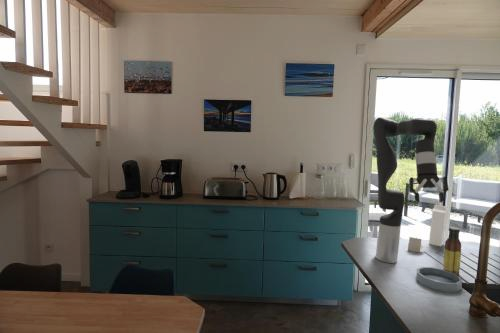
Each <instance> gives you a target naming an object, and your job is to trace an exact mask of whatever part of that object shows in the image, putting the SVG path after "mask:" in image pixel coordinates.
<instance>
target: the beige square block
mask: <svg viewBox="0 0 500 333" xmlns="http://www.w3.org/2000/svg"><path fill="white" fill-rule="evenodd" d="M424 246H425V245H424V244H422V238H418V237H412V236H409V238H408V245H407V251H412V252H415V253H416V252H417V253H421V248H424Z"/></svg>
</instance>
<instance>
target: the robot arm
mask: <svg viewBox="0 0 500 333" xmlns="http://www.w3.org/2000/svg"><path fill="white" fill-rule="evenodd" d="M437 127H438V126H437V122H435V120H433V119H426V118H425V119H424V118H411V119H405V120H401V121H395V120H393V119H389V118H386V117H377V118H376V119H375V120H374V123H373V128H372V129H373V135H374V142H375V152H376V167H377V168H376V169H377V181H378V182H377V183H378V185H377V188H378V189H377V202H378V207H379V208H380V209H381V210H390V211H391V212H390V213H388V214H384V215H381V216H380V217H379V224H378V233H377V234H378V236H377V239H376V240H377V241H376V248H375V249H376V251H375V257H376V260H378V261H379V262H382V263H386V264H387V263H388V264H396V263H397V262H398V257H399V256H398V255H399V246H400V235H401V226H402V219H403V213H404V208H405V193H404V191H402V190H400V189H399V190H398V189H387V183H388V182H389V181H390V179H391V177H392V176H393V175H394V174H395V172H396V171H397V168H398V159H397V153H396V152H395V150H394V148H393V147H392V145H391V143H390V142H389V141H388V140H387V139H388V138H393V137H397V136H402V135H403V136H413V135H415V136H423V139H418V140H417V141H415V145H414V147H415V164H416V177H410V178H409V179H408V184H409V185H408V186H409V187H408V192H409V193H413V194H414V200H415V202H416V203H420V193H419V192H420V190H421V189H434V190H436V191H437V193H438V200H439V203H443V202H444V201H445V194H444V193H446V192H448V191H449V185H448V178H447V177H446V176H443V177H439V176H438V167H437V158H436V153H435V139H436V134H437V131H438V128H437ZM439 182H440V183H442V187H441V186H440V185H439ZM415 183H418V186H417V187H416V189H414V184H415Z"/></svg>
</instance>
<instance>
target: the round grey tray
mask: <svg viewBox="0 0 500 333" xmlns="http://www.w3.org/2000/svg"><path fill="white" fill-rule="evenodd" d="M443 269H444V268H437V267H431V266H427V267H426V266H421V267H419V268H417V269H416V275H415V277H416V281H417V282H418V283H419V284H421V285H422V286H425V287H427V288H430V289H432V290H435V291H440V292H446V293H456V292H459V291H460V290H462V289H463V288H462V287H463V280H462V278H461V277H460V276H459V275H456V274H454V273H452V272H449V271H446V270H443Z"/></svg>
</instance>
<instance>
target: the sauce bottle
mask: <svg viewBox="0 0 500 333" xmlns="http://www.w3.org/2000/svg"><path fill="white" fill-rule="evenodd" d="M460 230H461V229H460V228H459V227H455V226H454V227H453V226H451V227H450V226H449V227H448V238H447V239H446V240H445V241H444V249H443V250H444V252H443V265H442V269H443V270H446V271H449V272H452V273H454V274H456V275H457V276H459V274H460V270H461V258H462V257H461V256H462V242H461V240H460V238H459V237H460V232H461V231H460Z"/></svg>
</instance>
